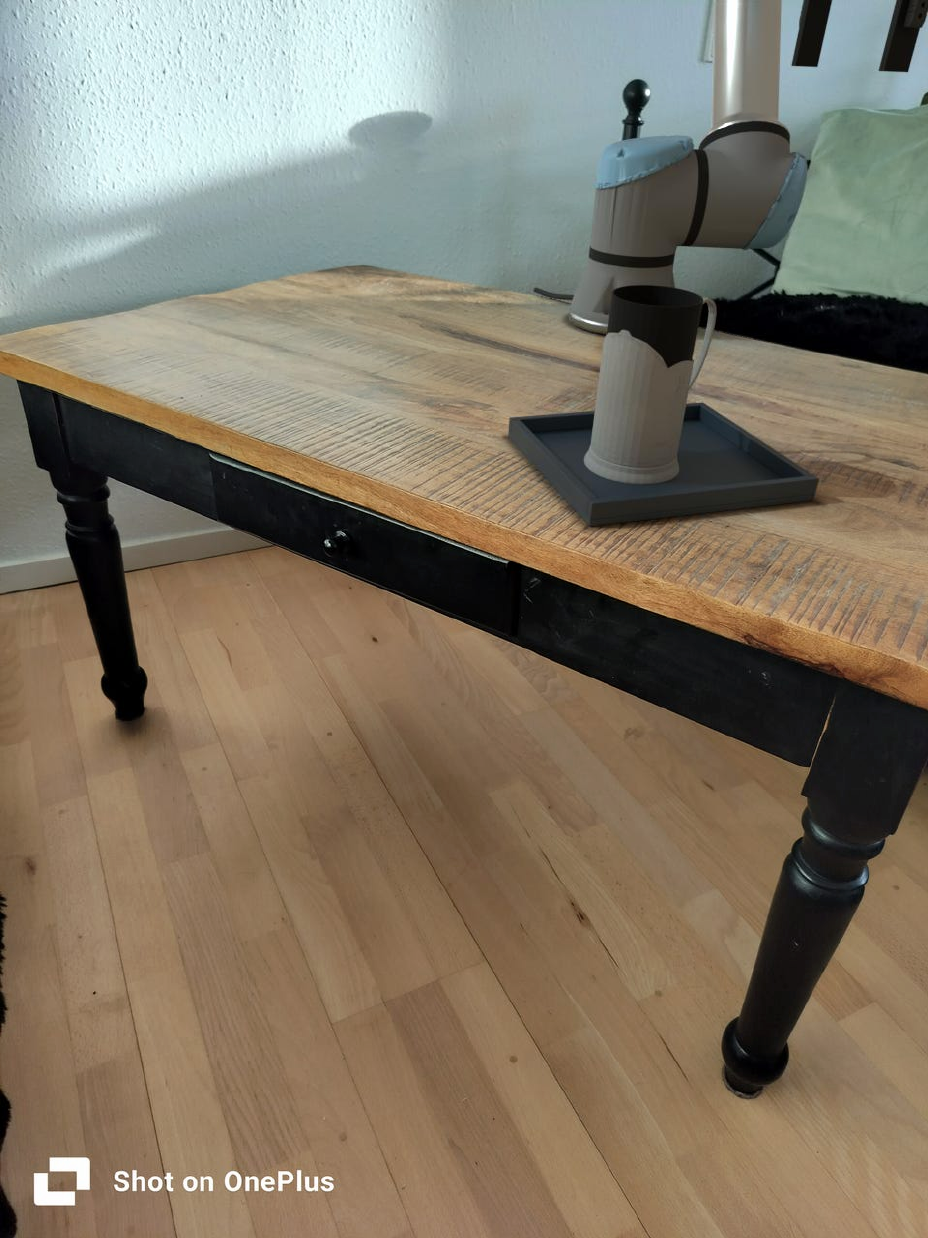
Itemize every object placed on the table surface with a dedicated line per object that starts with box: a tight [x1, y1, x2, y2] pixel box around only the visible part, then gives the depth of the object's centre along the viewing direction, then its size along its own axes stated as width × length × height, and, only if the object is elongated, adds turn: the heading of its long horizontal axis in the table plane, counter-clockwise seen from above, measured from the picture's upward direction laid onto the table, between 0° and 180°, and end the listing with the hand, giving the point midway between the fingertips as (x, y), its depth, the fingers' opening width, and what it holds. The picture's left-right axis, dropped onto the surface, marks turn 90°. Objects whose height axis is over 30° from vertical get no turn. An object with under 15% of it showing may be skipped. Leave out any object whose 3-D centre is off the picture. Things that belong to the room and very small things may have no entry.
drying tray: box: [507, 401, 820, 527], centre depth 80 cm, size 20×22×2 cm
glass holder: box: [584, 285, 717, 484], centre depth 77 cm, size 9×14×15 cm, turn 135°
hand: (845, 69), depth 85 cm, fingers open, 13 cm apart
